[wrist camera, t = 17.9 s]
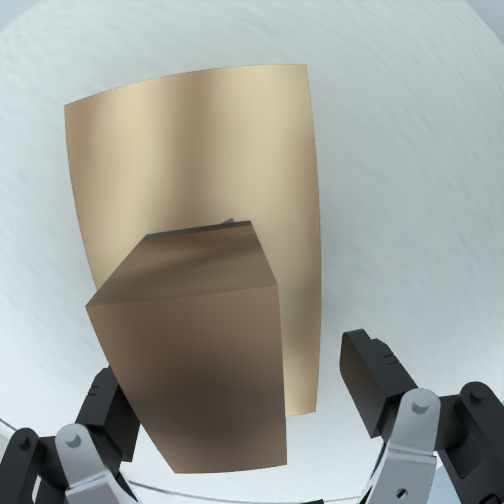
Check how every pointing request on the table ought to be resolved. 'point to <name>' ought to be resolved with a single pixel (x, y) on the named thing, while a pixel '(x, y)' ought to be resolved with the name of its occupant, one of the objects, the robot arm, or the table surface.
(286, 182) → the pine board
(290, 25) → the table surface
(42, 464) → the robot arm
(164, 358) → the block
